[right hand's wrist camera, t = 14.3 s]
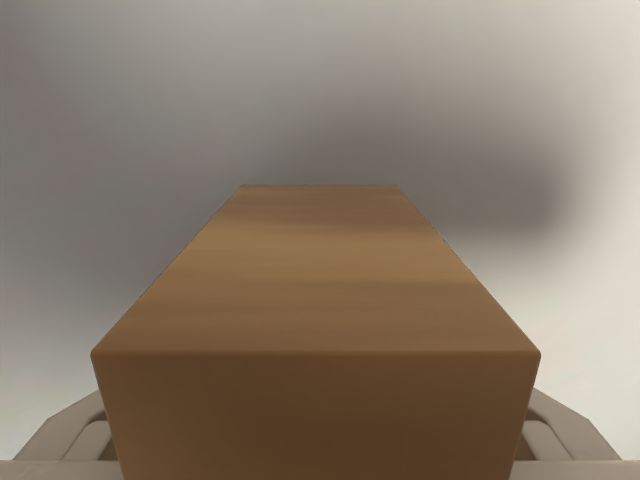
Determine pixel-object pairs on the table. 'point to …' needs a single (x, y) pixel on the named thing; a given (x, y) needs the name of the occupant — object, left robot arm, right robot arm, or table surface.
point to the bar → (316, 350)
